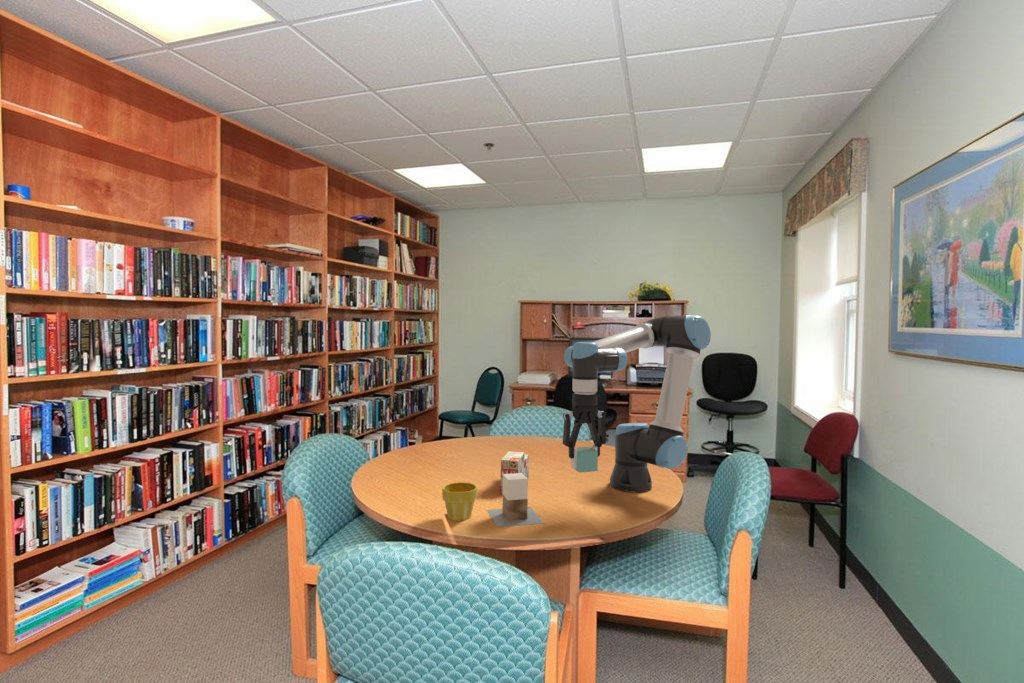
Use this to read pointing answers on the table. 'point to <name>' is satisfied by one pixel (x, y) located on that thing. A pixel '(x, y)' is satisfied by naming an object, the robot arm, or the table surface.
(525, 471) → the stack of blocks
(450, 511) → the plant pot
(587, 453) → the teal cube
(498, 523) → the plate
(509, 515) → the walnut cube
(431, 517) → the table surface
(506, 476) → the cream cube
